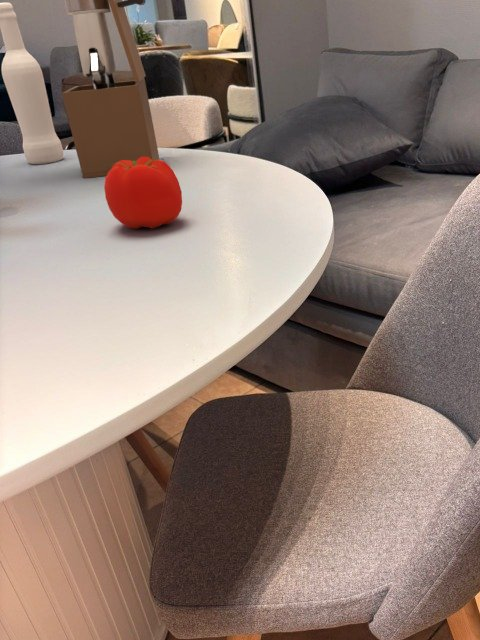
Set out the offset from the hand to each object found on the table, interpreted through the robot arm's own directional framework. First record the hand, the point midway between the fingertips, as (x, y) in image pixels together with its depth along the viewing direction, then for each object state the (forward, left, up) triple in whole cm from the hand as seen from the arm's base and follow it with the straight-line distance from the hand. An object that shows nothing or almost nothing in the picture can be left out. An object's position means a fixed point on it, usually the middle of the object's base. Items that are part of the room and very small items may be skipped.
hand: (111, 113), depth 123 cm
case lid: (+5, 0, +12) cm, 13 cm away
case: (0, 0, -10) cm, 10 cm away
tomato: (+9, -46, -10) cm, 48 cm away
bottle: (-19, +18, -10) cm, 28 cm away
